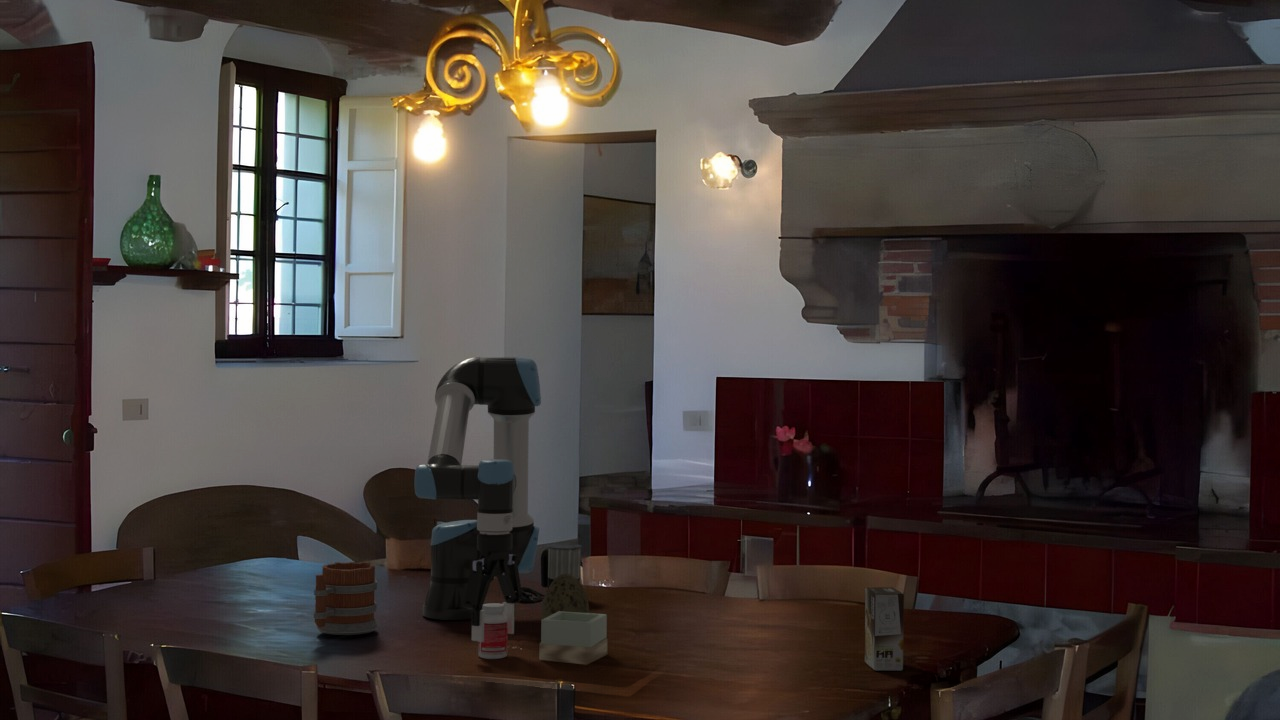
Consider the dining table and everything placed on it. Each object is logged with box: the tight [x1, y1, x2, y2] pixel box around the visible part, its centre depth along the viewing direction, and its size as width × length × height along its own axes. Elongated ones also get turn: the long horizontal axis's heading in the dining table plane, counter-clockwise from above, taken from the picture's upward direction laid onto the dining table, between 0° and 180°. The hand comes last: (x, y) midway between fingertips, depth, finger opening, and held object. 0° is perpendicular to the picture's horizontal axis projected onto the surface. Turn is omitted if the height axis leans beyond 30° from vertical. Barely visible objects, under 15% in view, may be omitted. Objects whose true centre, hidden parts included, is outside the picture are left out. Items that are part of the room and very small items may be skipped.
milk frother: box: [519, 542, 583, 604], centre depth 354 cm, size 14×16×15 cm
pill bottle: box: [477, 602, 509, 660], centre depth 285 cm, size 6×6×11 cm
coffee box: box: [864, 586, 905, 672], centre depth 282 cm, size 9×6×16 cm
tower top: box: [540, 611, 608, 647], centre depth 286 cm, size 11×11×5 cm
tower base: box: [538, 637, 608, 666], centre depth 286 cm, size 11×11×4 cm
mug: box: [313, 561, 379, 636], centre depth 309 cm, size 14×19×15 cm
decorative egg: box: [541, 574, 590, 620], centre depth 304 cm, size 11×11×15 cm
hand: (493, 636), depth 285 cm, fingers open, 10 cm apart
